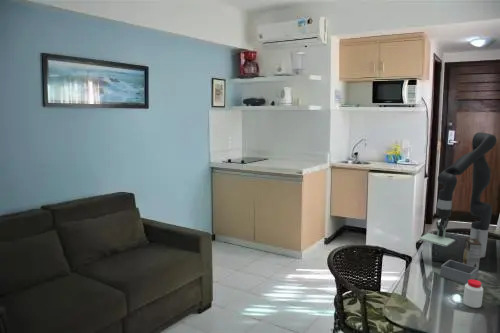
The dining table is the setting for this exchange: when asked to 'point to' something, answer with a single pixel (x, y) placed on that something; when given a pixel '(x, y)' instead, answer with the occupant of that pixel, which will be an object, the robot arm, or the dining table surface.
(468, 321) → the dining table surface
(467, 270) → the parts tub
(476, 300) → the pill bottle
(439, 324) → the dining table surface
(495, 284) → the dining table surface
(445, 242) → the snap lid
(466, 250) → the coffee box
